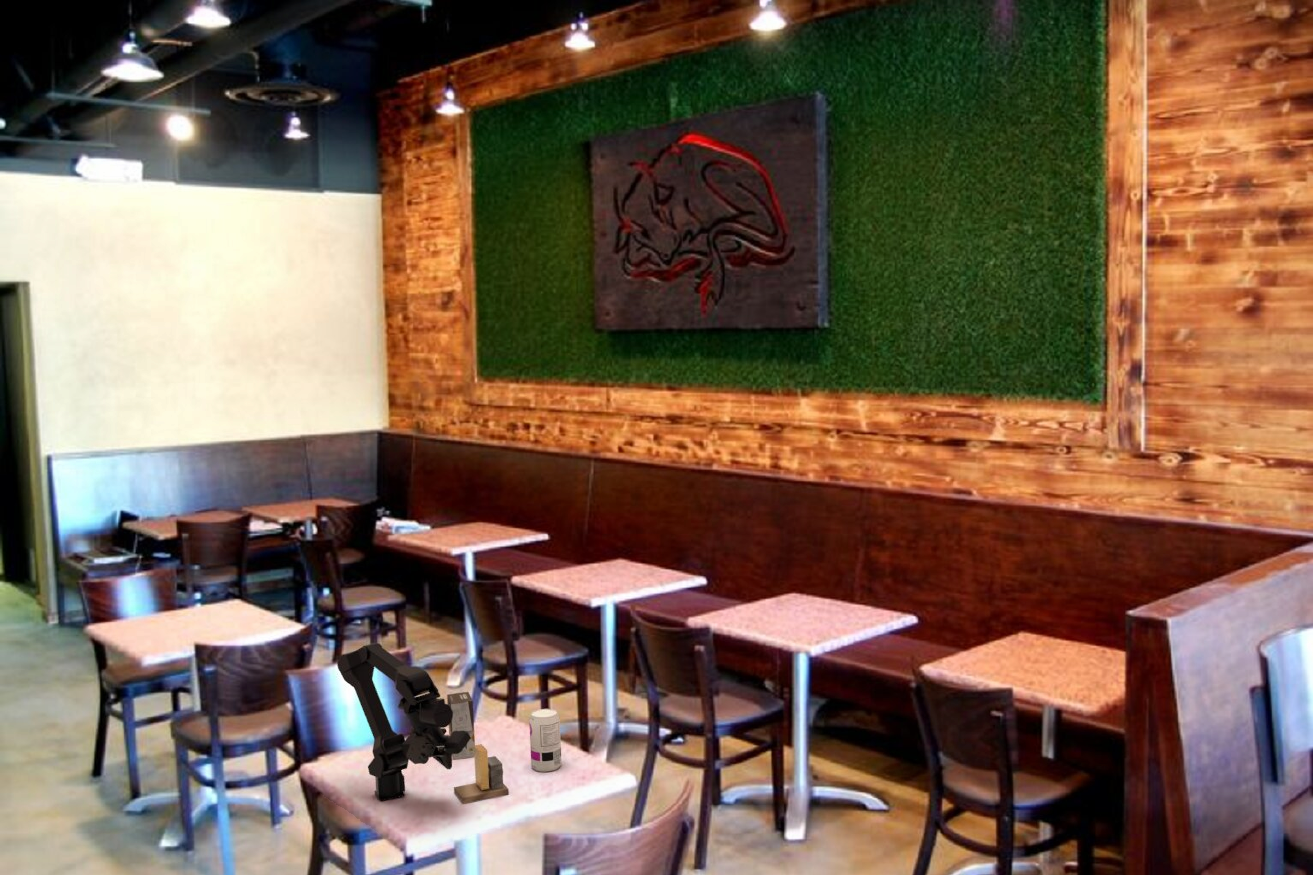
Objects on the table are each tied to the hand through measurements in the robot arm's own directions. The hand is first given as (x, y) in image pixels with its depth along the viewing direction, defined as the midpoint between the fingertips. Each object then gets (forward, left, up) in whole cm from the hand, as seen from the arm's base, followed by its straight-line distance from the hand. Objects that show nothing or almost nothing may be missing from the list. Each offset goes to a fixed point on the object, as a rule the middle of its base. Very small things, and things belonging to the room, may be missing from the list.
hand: (449, 768), depth 302 cm
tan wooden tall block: (+10, 0, -6) cm, 12 cm away
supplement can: (+29, +9, -8) cm, 31 cm away
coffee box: (+12, +31, -8) cm, 34 cm away
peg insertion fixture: (+9, 0, -8) cm, 12 cm away
